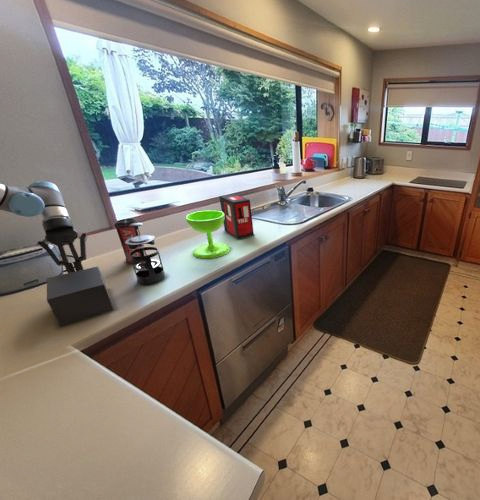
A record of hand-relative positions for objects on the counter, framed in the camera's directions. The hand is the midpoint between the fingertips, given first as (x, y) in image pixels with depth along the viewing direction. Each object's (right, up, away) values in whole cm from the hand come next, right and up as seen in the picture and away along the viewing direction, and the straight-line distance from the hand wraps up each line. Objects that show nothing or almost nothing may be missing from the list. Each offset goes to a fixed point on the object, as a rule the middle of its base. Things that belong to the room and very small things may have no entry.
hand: (78, 279), depth 99 cm
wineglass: (+29, +10, +37) cm, 48 cm away
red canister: (+1, +6, +26) cm, 27 cm away
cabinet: (+7, -8, -5) cm, 12 cm away
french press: (+17, -1, +12) cm, 21 cm away
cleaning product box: (+33, +20, +59) cm, 71 cm away
